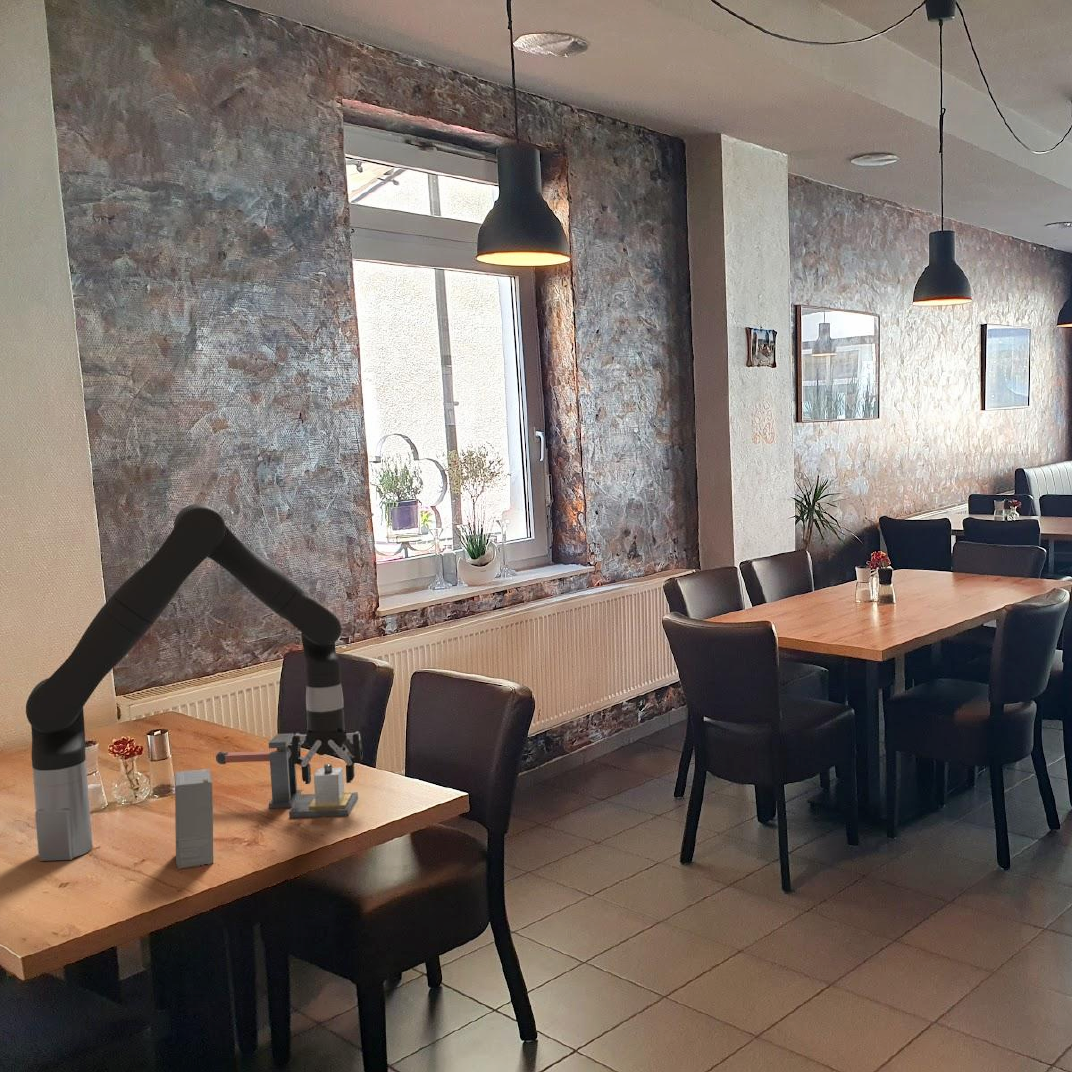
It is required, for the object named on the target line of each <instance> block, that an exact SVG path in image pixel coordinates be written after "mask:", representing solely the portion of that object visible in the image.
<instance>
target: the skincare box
mask: <svg viewBox="0 0 1072 1072" xmlns="http://www.w3.org/2000/svg"><path fill="white" fill-rule="evenodd" d="M212 776H213V775H212V773H211V770H210V768H203V769H194V770H193V769H192V770H191V769H190V770H181V771H174V796H175V797H174V801H175V802H174V804H175V805H174V806H175V811H174V813H175V814H174V815H175V822H174V823H175V829H174V830H175V862H176V866H177V869H178V870H180V869H186V868H193V867H201V866H200V865H202V866H205V865H204V864H208V865H212V864H211V863H213V864H214V801H213V800H214V797H213V794H214V793H213V781H212Z"/></svg>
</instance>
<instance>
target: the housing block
mask: <svg viewBox="0 0 1072 1072" xmlns="http://www.w3.org/2000/svg"><path fill="white" fill-rule="evenodd" d="M344 783H345V782H344V767H333V764H332V763H327V764H324V765H323V767H322V768H318V769H317V771H315V774H313V784H314V794H315V804H338V803H340V802H341V800H342V799H343V797H344V793H345V784H344Z"/></svg>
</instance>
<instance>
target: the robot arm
mask: <svg viewBox="0 0 1072 1072" xmlns="http://www.w3.org/2000/svg"><path fill="white" fill-rule="evenodd" d="M173 522H174V523H173V524H174V525H173V528H172V531H170V533H169V535H168V536H167V538H166V539H165V541H164V542H163V543H162V545H160V547H159V549H158V551H156V553H155V554H154V555H153V556H152V558H151V559H149V560H148V561H147V562H146V563H145V564H144V565H142V566H141V567H140V568H139V569H138V570H136V571H135V572H134V573H133V574H132V575H131V576H129V578H127V580H126V581H124V582H123V583H122V584H121V585H120V586H119V587H118V589H116V591H115V592H114V593H112V595H111V596H110V597H109V599H108V600H107V601H106V602H105V604H104V605H103V606H102V607H101V609H100V610H99V611H98V612H97V613H96V615H95V617H94V618H93V619H92V621H91V622H90V624H89V625H88V626H87V628H86V630H85V631H84V633H83V634H82V636H81V637H80V639H79V641H78V643H77V644H76V646H75V647H74V650H72V652H71V654H70V655H69V656H68V658H67V659H66V660H65V661H64V662H63V663H62V664H61V665H60V666H59V667H58V668H57V669H56V671H54V672H53V673H52V674H51V676H49V677H48V678H46V679H43V680H41V681H40V682H39V683H37V684H36V685H35V687H33V689H32V691H31V692H30V694H29V696H28V698H27V700H26V703H25V715H26V719H27V721H28V723H29V724H30V726H31V727H30V728H31V767H32V777H33V779H32V780H33V790H34V792H33V793H34V805H35V813H34V814H35V815H34V816H35V828H36V829H35V830H36V838H37V839H36V840H37V852H38V861H39V862H43V861H45V862H46V861H49V862H50V861H71V860H73V859H74V858H77V857H80V856H82V855H84V854H86V853H88V852H90V851H91V850H92V848H93V837H92V836H93V834H92V824H91V823H92V822H91V810H90V809H91V808H90V797H89V784H88V782H89V781H88V769H87V759H86V757H87V756H86V755H87V754H86V729H85V714H84V713H85V711H84V706H85V704H86V703H87V702H88V700H89V699H90V698H91V696H92V694H93V693H94V692H95V690H96V688H97V687H98V686H99V685H100V684H101V682H102V681H103V679H104V678H105V677H106V676H107V675H108V674H109V673H110V672H111V671H112V670H113V669H114V668H115V667H116V666H117V665H118V664H119V663H120V662H121V661H122V660H123V659H124V658H125V657H126V656H127V655H128V654H129V653H130V652H131V651H132V649H134V648H135V646H136V645H137V644H138V643H139V641H141V640H142V638H143V637H144V636H145V635H146V633H147V632H148V631H149V630H150V628H151V627H152V626H153V625H154V624H155V622H156V621H158V618H159V617H160V616H161V614H162V613H163V612H164V610H165V609H166V608H167V606H168V605H169V604H170V602H171V601H172V599H174V597H175V595H176V593H177V592H178V591H179V589H180V588H181V586H182V584H183V583H184V582H185V581H186V579H188V577H189V576H190V575H191V573H193V572H194V571H195V569H197V567H199V566H200V565H201V563H202V562H204V560H206V558H208V559H211V560H212V561H214V562H215V563H216V564H217V565H220V566H221V567H222V568H224V569H225V570H226V571H227V572H228V573H229V574H230V575H232V576H233V577H234V578H235V579H236V580H237V581H239V582H240V583H241V584H242V586H244V587H245V588H246V589H247V590H248V591H249V592H250V593H251V594H252V595H253V596H254V597H256V598H257V600H259V601H260V602H262V604H264V605H265V606H267V608H268V609H270V610H272V611H273V612H274V613H275V614H277V615H278V616H279V617H281V618H282V619H284V620H286V621H288V623H291V625H292V626H293V627H294V628H295V629H297V630H298V631H299V632H300V635H301V642H302V648H303V653H304V659H305V681H306V682H305V683H306V689H305V692H306V693H305V707H306V723H307V727H306V728H307V733H306V734H301V733H300V732H296V733H294V736H293V737H292V742H291V744H292V763H293V764H296V765H298V766H300V767H301V780H302V781H303V782H305V783H304V784H305V785H310V784H311V782H312V773H311V764H310V762H311V760H312V759H313V758H314V756H315V755H316V754H317V755H318V756H324V755H325V756H326V755H328V756H334V755H336V754H337V755H338V757H339V758H340V759H342V760H343V761H344V762H345V764H346V765H345V779H346V780H345V781H346V783H347V784H351V783H352V781H353V780H354V778H355V764H356V763H357V764H358V763H361V761H362V760H363V758H364V754H363V744H362V737H361V732H360V731H359V730H358V731H357V730H356V731H355V732H346V728H345V713H344V712H345V711H344V710H345V709H344V708H345V707H344V703H345V702H344V700H345V699H344V694H343V687H342V676H341V675H342V672H341V664H340V660H339V657H338V655H337V653H336V642H337V641H338V640H339V638H340V636H341V633H342V625H341V622H340V620H339V618H338V616H336V615H335V614H334V613H333V612H331V611H330V610H329V609H327V608H326V607H325V606H323V605H322V604H321V603H319V602H318V601H317V600H316V599H313V598H312V597H310V596H309V595H308V594H307V593H306V592H305V590H303V588H301V587H300V586H299V585H298V584H297V583H295V582H294V581H293V580H292V579H291V578H289V576H287V575H286V574H285V573H283V572H282V571H281V570H279V569H278V568H277V567H275V565H273V564H272V563H270V562H268V561H267V560H265V559H264V558H263V557H262V556H260V555H258V554H257V553H256V552H255V551H253V550H252V549H251V548H250V547H249V546H248V545H246V544H245V543H244V542H242V541H241V539H239V538H238V537H237V536H236V535H235V534H234V533H233V532H232V530H231V529H230V527H228V526H227V525H226V523H225V521H224V518H223V516H222V515H221V514H220V513H219V512H218V510H216V509H215V508H213V507H211V506H209V505H207V504H203V503H195V504H190V505H187V506H185V507H184V508H182V509H181V510H180V511H179V512H178V513H177V515H176V517H175V519H174V521H173ZM347 740H349V743H350V744H351V745H353V753H354V755H353V754H351V753H350V751H349V749H348V748H347V746H346V745H345V742H346V741H347ZM305 741H306V743H307V744H308V746H309V747H310V749H309V751H308V753H307V754H306V755H305V757H302V756H301V754H302V750H301V747H302V745H303V744H304V742H305Z"/></svg>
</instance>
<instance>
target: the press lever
mask: <svg viewBox="0 0 1072 1072" xmlns="http://www.w3.org/2000/svg"><path fill="white" fill-rule="evenodd" d="M287 751H288V759H289V757H290V756H291V753H292V752H291V749H290V748H289V747H286V748H280V749H279V750H278V751H277V750H261V751H260V750H259V751H258V750H257V751H256V750H255V751H237V752H236V751H235V752H234V751H231V752H227V751H225V750H221V751H219V752H218V753H216V755H215V761H216V762H217V763H218V764H219V765H226V764H228V763H229V764H230V763H250V762H251V763H253V762H254V763H255V762H270V756H269V753H270V752H287Z"/></svg>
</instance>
